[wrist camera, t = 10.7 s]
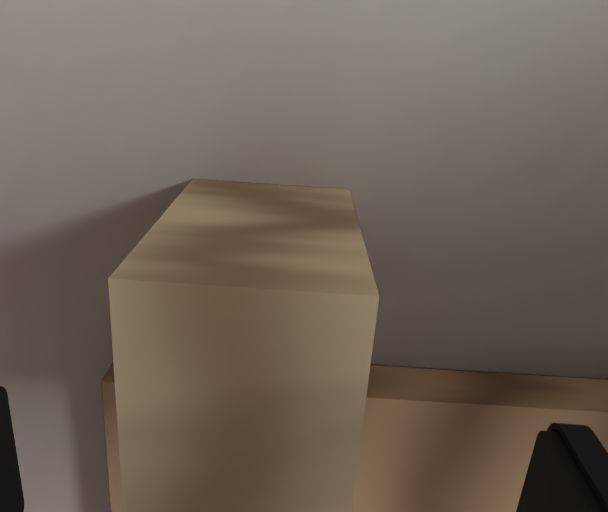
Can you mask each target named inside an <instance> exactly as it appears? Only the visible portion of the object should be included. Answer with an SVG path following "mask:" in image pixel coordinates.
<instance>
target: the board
mask: <svg viewBox="0 0 608 512" xmlns="http://www.w3.org/2000/svg"><path fill="white" fill-rule="evenodd" d="M101 385H102V399H103V412H104V425H105V438H106V451H107V465H108V478H109V491H110V504H111V512H123V504H122V488H121V473H120V457H119V442H118V426H117V411H116V395H115V380H114V365H113V363H112V365H111V366H110V368H109V370H108V371H107V373H106V375H105V376H104V378H103V379H102V381H101ZM552 423H564V424H576V425H586V426H588V427H590V428H591V429H592V431H593V432H594V433H595V435H596V436H597V438H598V439H599V441H600V442H601V444H602V445H603V447H604V448H605V450H606V451H607V453H608V380H604V379H588V378H572V377H555V376H539V375H523V374H507V373H491V372H474V371H458V370H442V369H426V368H410V367H393V366H377V365H370V373H369V380H368V388H367V396H366V403H365V411H364V419H363V427H362V434H361V442H360V450H359V457H358V465H357V473H356V480H355V488H354V496H353V503H352V511H351V512H516V510H517V506H518V503H519V499H520V496H521V492H522V488H523V485H524V481H525V478H526V474H527V470H528V467H529V463H530V460H531V456H532V452H533V449H534V445H535V441H536V438H537V435H538V433H539V432H540V431H542V430H544V431H547V429H548V427H549V426H550V425H551V424H552Z"/></svg>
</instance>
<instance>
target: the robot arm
mask: <svg viewBox="0 0 608 512" xmlns="http://www.w3.org/2000/svg"><path fill="white" fill-rule="evenodd" d="M23 511H24V498H23V491H22V485H21V479H20V472H19V466H18V460H17V453H16V447H15V441H14V434H13V428H12V422H11V415H10V409H9V403H8V396H7V392H6V389H5V388H4V387H1V386H0V512H23ZM516 512H608V453H607V451H606V450H605V448H604V447H603V445H602V444H601V442H600V441H599V439H598V438H597V436H596V435H595V433H594V432H593V431H592V429H591V428H590V427H588V426H586V425H576V424H564V423H552V424H551V425H550V426H549V427H548V429H547V431H544V430H542V431H540V432H539V433H538V435H537V438H536V441H535V445H534V449H533V452H532V456H531V460H530V463H529V467H528V470H527V474H526V478H525V481H524V485H523V488H522V492H521V496H520V499H519V503H518V506H517V510H516Z"/></svg>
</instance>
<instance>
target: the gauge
mask: <svg viewBox="0 0 608 512" xmlns="http://www.w3.org/2000/svg"><path fill="white" fill-rule="evenodd" d="M108 287H109V303H110V318H111V334H112V349H113V365H114V380H115V395H116V411H117V426H118V442H119V457H120V473H121V488H122V504H123V512H351V511H352V503H353V496H354V488H355V480H356V473H357V465H358V457H359V450H360V442H361V434H362V427H363V419H364V411H365V403H366V396H367V388H368V380H369V373H370V365H371V357H372V350H373V342H374V334H375V327H376V319H377V311H378V304H379V293H378V289H377V286H376V282H375V279H374V275H373V272H372V268H371V265H370V261H369V258H368V254H367V250H366V247H365V243H364V240H363V236H362V233H361V229H360V226H359V222H358V219H357V215H356V212H355V208H354V204H353V201H352V197H351V194H350V190H349V189H336V188H322V187H307V186H292V185H278V184H263V183H249V182H234V181H219V180H205V179H192V180H191V181H190V183H189V184H188V185H187V186H186V187H185V188H184V190H183V191H182V192H181V193H180V194H179V196H178V197H177V198H176V199H175V200H174V201H173V203H172V204H171V205H170V206H169V207H168V208H167V210H166V211H165V212H164V213H163V214H162V216H161V217H160V218H159V219H158V220H157V221H156V223H155V224H154V225H153V226H152V227H151V228H150V230H149V231H148V232H147V233H146V234H145V236H144V237H143V238H142V239H141V240H140V241H139V243H138V244H137V245H136V246H135V247H134V248H133V250H132V251H131V252H130V253H129V254H128V256H127V257H126V258H125V259H124V260H123V261H122V263H121V264H120V265H119V266H118V267H117V268H116V270H115V271H114V272H113V273H112V274H111V276H110V277H109V278H108Z"/></svg>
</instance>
